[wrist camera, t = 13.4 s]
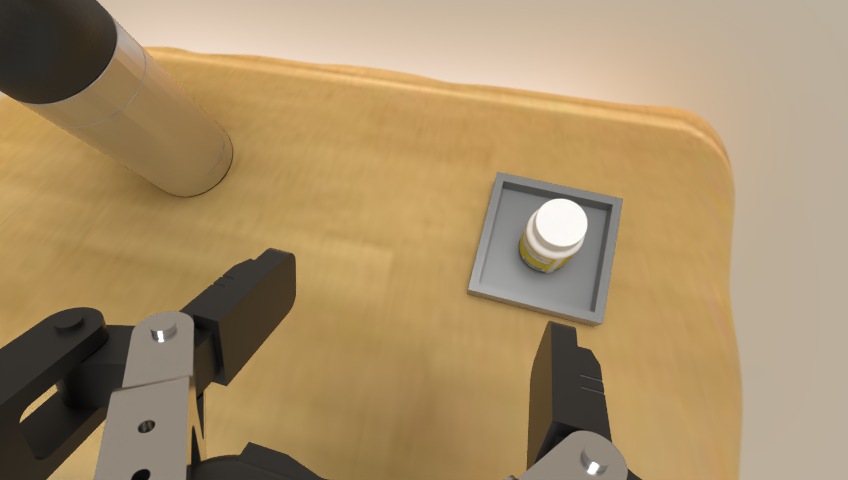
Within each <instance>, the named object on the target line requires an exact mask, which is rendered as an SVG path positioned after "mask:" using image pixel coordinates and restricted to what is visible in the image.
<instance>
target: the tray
mask: <svg viewBox="0 0 848 480" xmlns="http://www.w3.org/2000/svg"><path fill="white" fill-rule="evenodd" d="M553 199H567V200H570V201H573V202H575V203H576V204H577V205H579V206H580V207H581V208H582V210H583V211H584V213H585V215H586V217H587V231H586V233H585V237H584V241H583V244H582V246H581V247H580V248H579V250H578V251H577V252H576V253H575V254H574V255H573V256H572V257H571V258H570V259H569V260H568V261H567V262H566V263H565V265H564V266H563V267H561V268H560V269H559V270H557V271H555V272H552V273H538V272H535V271H533V270H531V269H529V268H528V267H527V266H526V265H525V264H524V263H523V262H522V260H521V258H520V255H519V249H518V248H519V242H520V239H521V237H522V234H523V232H524V230H525V227H526V225H527V223H528V221H529V219H530V217H531V216H532V215H533V214H534V212H536V211H537V210H538V209H540V208H541V206H542V205H544V204H545V203H546V202H548V201H550V200H553ZM622 202H623V199H622V198H617V197H612V196H608V195H603V194H598V193H594V192H589V191H584V190H580V189H575V188H570V187H566V186H561V185H556V184H552V183H547V182H542V181H538V180H533V179H528V178H524V177H519V176H514V175H510V174H505V173H500V172H497V175H496V179H495V183H494V187H493V191H492V195H491V199H490V203H489V207H488V211H487V215H486V219H485V223H484V227H483V231H482V235H481V239H480V243H479V247H478V251H477V255H476V259H475V263H474V267H473V272H472V276H471V280H470V284H469V288H468V294H470V295H474V296H478V297H482V298H486V299H489V300H493V301H497V302H501V303H505V304H509V305H513V306H517V307H520V308H524V309H528V310H532V311H536V312H540V313H544V314H548V315H552V316H555V317H559V318H563V319H567V320H571V321H575V322H579V323H583V324H587V325H590V326H597V325H600V324H603V319H604V313H605V306H606V300H607V294H608V288H609V282H610V276H611V270H612V263H613V257H614V251H615V245H616V239H617V233H618V227H619V220H620V214H621V208H622Z"/></svg>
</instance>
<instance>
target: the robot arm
mask: <svg viewBox="0 0 848 480" xmlns="http://www.w3.org/2000/svg"><path fill="white" fill-rule="evenodd" d="M0 91H1V92H3V93H5V94H6V95H8V96H10V97H11V98H13V99H15V100H16V101H18V102H20V103H21V104H23V105H25V106H26V107H28V108H29V109H31V110H33V111H34V112H36V113H38V114H39V115H41V116H43V117H44V118H46V119H47V120H49V121H51V122H53V123H54V124H56V125H58V126H59V127H61V128H63V129H64V130H66V131H68V132H69V133H71V134H72V135H74V136H76V137H77V138H79V139H81V140H82V141H84V142H86V143H87V144H89V145H90V146H92V147H94V148H95V149H97V150H99V151H100V152H102V153H104V154H105V155H107V156H108V157H110V158H112V159H113V160H115V161H117V162H118V163H120V164H122V165H123V166H125V167H126V168H128V169H130V170H131V171H133V172H135V173H136V174H138V175H139V176H141V177H142V178H144V179H146V180H147V181H149V182H151V183H152V184H154V185H156V186H157V187H159V188H161V189H162V190H164V191H166V192H168V193H169V194H172V195H175V196H182V197H188V196H194V195H198V194H201V193H203V192H206V191H207V190H209V189H211V188H212V187H214V186H215V185H216V184H217V183H218V182H219V181H220V180H221V179H222V178H223V177H224V175H225V174H226V172H227V170H228V168H229V166H230V163H231V160H232V144H231V141H230V139H229V137H228V135H227V134H226V133H225V131H224V130H223V129H222V128H221V127H220V126H219V125H218V124H217V123H216V122H215V121H214V120H213V119H212V118H211V117H210V116H209V115H208V114H207V113H206V112H205V111H204V110H203V109H202V108H201V106H200V105H199V104H198V103H197V102H196V101H195V100H194V99H193V98H192V97H191V96H190V95H189V94H188V93H187V92H186V91H185V90H184V89H183V88H182V87H181V86H180V85H179V84H178V83H177V82H176V81H175V80H174V79H173V78H172V77H171V76H170V75H169V74H168V73H167V72H166V71H165V70H164V69H163V68H162V67H161V66H160V65H159V64H158V63H157V62H156V61H155V60H154V59H153V58H152V57H151V56H150V55H149V54H148V53H147V52H146V51H145V49H144V48H143V47H142V46H141V45H140V44H139V43H138V42H136V40H135V39H134V38H132V36H130V34H128V32H126V30H124V29H123V27H122V26H121V25H120V24H119V23H118V22H117V21H116V20H115V19H114V18H113V17H112V16H111V15H110V14H109V13H108V12H107V11H106V10H105V9H104V8H103V7H102V6H101V5H100V4H99V3H98V2H97V1H96V0H0ZM295 297H296V260H295V256H294V254H292V253H289V252H285V251H281V250H277V249H273V248H269V249H267V250H266V251H265V252H264V253H262V254H261V255H260V256H259V257H258V258H257V259H256V260H253V259H249V260H246V261H244V262H242V263H239V264H237V265H235V266H233V267H232V268H231V269H230V270H228V271H227V272H226V273H225V274H224V275H223V277H220V278H219V279H218V280H216V281H215V282H214V284H213V285H210V286H209V287H208V288H207V289H206V290H204V291H203V292H202V293H201V294H200V295H198V296H197V297H196V298H195V299H194V300H192V301H191V302H190V303H189V304H188V305H186V306H185V307H184V308H183V309H182V310H180V311H179V312H175V311H169V312H162V313H158V314H154V315H152V316H149V317H147V318H145V319H144V320H142V321H141V322H139V323H138V324H137V325H136V326H123V325H106V324H105V321H104V317H103V315H102V313H101V312H100V311H98V310H96V309H93V308H86V307H81V308H72V309H67V310H64V311H60V312H58V313H55V314H53V315H51V316H49V317H47V318H46V319H44V320H43V321H41V322H40V323H38V324H37V325H35V326H34V327H32V328H31V329H29V330H28V331H26V332H25V333H23V334H22V335H21V336H19V337H18V338H16V339H15V340H13V341H12V342H10V343H9V344H7V345H6V346H4V347H3V348H1V349H0V480H46V479H47V478H48V477H49V476H50V475H51V474H52V473H53V472H54V471H55V470H56V469H57V468H58V467H59V466H60V465H61V464H62V463H63V462H64V461H65V460H66V459H67V458H68V457H69V456H70V455H71V454H72V453H73V452H74V451H75V450H76V449H77V448H78V447H79V446H80V445H81V444H82V443H83V442H84V441H85V440H86V439H87V437H88V436H89V435H90V434H91V433H92V432H93V431H94V430H95V429H96V428H97V427H98V426H99V425H100V424H101V423H102V422H103V421H104V420H105V419H106V422H105V427H104V432H103V437H102V442H101V447H100V452H99V457H98V462H97V466H96V471H95V476H94V480H327V479H323V478H321V477H319V476H318V475H316V474H315V473H313V472H312V471H310V470H309V469H307V468H306V467H305V466H303V465H302V464H300V463H299V462H297V461H296V460H294V459H293V458H291V457H290V456H289V455H287V454H284V453H281V452H278V451H275V450H272V449H269V448H266V447H263V446H260V445H257V444H254V443H251V442H249V443H248V444H247V445H246V447H245V448H244V450H243V451H242V453H241V454H240V455H224V456H218V457H213V458H210V459H207V455H206V395H205V389H206V387H207V386H208V385H209V384H210V383H211V382H215V383H218V384H221V385H224V386H227V385H228V384H229V383H230V382H231V380H232V379H233V378H234V377H235V376H236V375H237V373H238V372H239V371H240V370H241V369H242V367H243V366H244V365H245V364H246V363H247V361H248V360H249V359H250V358H251V357H252V355H253V354H254V353H255V352H256V351H257V350H258V348H259V347H260V346H261V345H262V344H263V342H264V341H265V340H266V339H267V338H268V336H269V335H270V334H271V333H272V332H273V331H274V329H275V328H276V327H277V326H278V325H279V323H280V322H281V321H282V320H283V319H284V317H285V316H286V315H287V314H288V313H289V311H290V310H291V308H292V306H293V304H294V301H295ZM54 384H55V385H56V387H57V390H58V391H57V392H56V393H55V394H54V395H52V396H51V397H50V398H49V399H48V400H47V401H45V402H44V403H43V404H42V405H41V406H39V407H38V408H37V409H36V410H35V411H34V412H32V413H31V414H30V415H29V416H28V417H27V418H25V419H24V420H23V421H22V422H21V423H19V422H20V418H21V416H22V414H23V412H24V411H25V409H26V408H27V407H28V406H29V405H30V404H31V403H33V402H34V401H35V400H36V399H37V398H39V397H40V396H41V395H42V394H43V393H45V392H46V391H47V390H48V389H49V388H51V387H52V386H53V385H54ZM503 480H642V479H640V478H639V477H637V476H636V475H635V474H633V473H632V472H631V471H630V470H629V469H628V468H627V464H626V461H625V459H624V457H623V456H622V454H621V452H620V451H619V450H618V449H617V448H616V446H614V445H613V444H612V440H611V433H610V427H609V420H608V414H607V407H606V400H605V395H604V387H603V383H602V374H601V367H600V364H599V362H598V361H597V359H596V358H595V356H594V354H593V353H592V351H591V350H589V349H586V348H582V347H578V345H577V334H576V328H575V327H571V326H567V325H564V324H560V323H556V322H552V321H549V322H548V324H547V326H546V328H545V331H544V334H543V337H542V340H541V342H540V345H539V348H538V351H537V354H536V356H535V359H534V363H533V367H532V372H531V379H530V402H529V426H528V450H527V471H526V472H525V473H524V474H523V475H522V476H520V477H519V478H517V479H516V478H515V477H514V476H512V475H511V476H508V477H506V478H505V479H503Z"/></svg>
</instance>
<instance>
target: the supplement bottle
mask: <svg viewBox="0 0 848 480" xmlns="http://www.w3.org/2000/svg"><path fill="white" fill-rule="evenodd" d="M586 231H587V217H586V215H585V213H584V211H583V210H582V208H581V207H580V206H579V205H577V204H576V203H575V202H573V201H570V200H567V199H553V200H550V201H548V202H546V203H545V204H544V205H542V206H541V208H540V209H538V210H537V211H536V212H534V214H533V215H532V216H531V217H530V219H529V221H528V223H527V225H526V227H525V230H524V232H523V234H522V237H521V239H520V242H519V248H518V249H519V255H520V258H521V260H522V262H523V263H524V264H525V265H526V266H527V267H528V268H529V269H531V270H533V271H535V272H538V273H552V272H555V271H557V270H559V269H560V268H561V267H563V266H564V265H565V263H566V262H567V261H568V260H569V259H570V258H571V257H572V256H573V255H574V254H575V253H576V252H577V251H578V250H579V248H580V247H581V246H582V244H583V241H584V237H585V233H586Z"/></svg>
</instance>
